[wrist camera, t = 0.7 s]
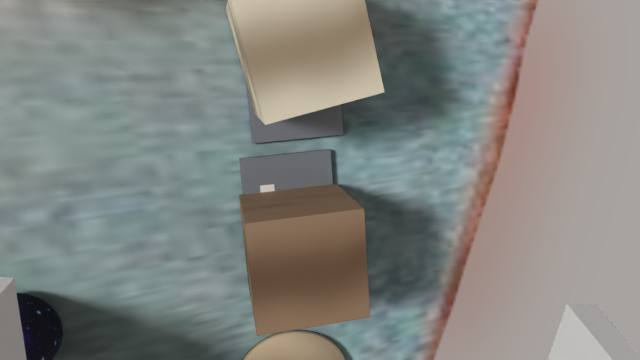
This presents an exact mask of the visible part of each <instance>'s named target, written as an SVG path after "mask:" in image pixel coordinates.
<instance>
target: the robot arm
mask: <svg viewBox="0 0 640 360" xmlns="http://www.w3.org/2000/svg"><path fill="white" fill-rule="evenodd" d="M0 360H27V359H26V352H25V346H24V339H23V332H22V326H21V319H20V313H19V306H18V300H17V293H16V287H15V280H14V278H8V277H0ZM548 360H640V354H639V353H638V352H637V350H636V349H635V348H634V347H633V346H632V345H631V344H630V343H629V342H628V340H627V339H626V338H625V337H624V336H623V335H622V334H621V333H620V331H619V330H618V329H617V328H616V327H615V326H614V325H613V324H612V322H611V321H610V320H609V319H608V318H607V317H606V316H605V315H604V314H603V312H602V311H601V310H600V309H599V308H598V307H597V306H596V305H584V304H567V305H566V308H565V311H564V314H563V317H562V320H561V323H560V326H559V329H558V332H557V335H556V337H555V340H554V344H553V346H552V350H551V353H550V355H549V358H548Z"/></svg>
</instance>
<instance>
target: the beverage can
mask: <svg viewBox="0 0 640 360" xmlns="http://www.w3.org/2000/svg"><path fill="white" fill-rule="evenodd" d="M17 300H18V306H19V313H20V319H21V326H22V332H23V339H24V346H25V352H26V359H27V360H53V358H54V356H55V354H56V353H57V351H58V349H59V347H60V345H61V341H62V336H63V330H62V324H61V321H60V319H59V317H58V315H57V313H56V312H55V311H54V309H53V308H52V307H51V306H50V305H48V304H47V303H46V302H44V301H43V300H41V299H39V298H37V297H34V296H31V295H27V294H21V293H17Z"/></svg>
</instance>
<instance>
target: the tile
mask: <svg viewBox="0 0 640 360" xmlns="http://www.w3.org/2000/svg"><path fill="white" fill-rule="evenodd" d="M239 160H240V170H241V179H242V188H243V195H245V194H253V193H262V192H271V191H279V190H288V189H297V188H305V187H314V186H323V185H331V184H333V179H332V164H331V150H330V149H325V150H316V151H306V152H296V153H287V154H277V155H267V156H258V157H248V158H239Z"/></svg>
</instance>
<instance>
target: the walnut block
mask: <svg viewBox="0 0 640 360" xmlns="http://www.w3.org/2000/svg"><path fill="white" fill-rule="evenodd" d="M239 199H240V209H241V218H242V227H243V236H244V246H245V255H246V264H247V273H248V283H249V291H250V297H251V303H252V308H253V314H254V320H255V326H256V332H257V336H260V335H266V334H272V333H278V332H284V331H290V330H296V329H302V328H308V327H314V326H321V325H327V324H333V323H339V322H345V321H351V320H357V319H363V318H369V317H370V306H369V287H368V269H367V250H366V231H365V213H364V208H363V207H362V206H361V205H360V204H359V203H358V202H356V201H355V200H354V199H353V198H352V197H351V196H350V195H349V194H348V193H347V192H345V191H344V190H343V189H342V188H341V187H340V186H339V185H338V184H331V185H323V186H314V187H305V188H297V189H288V190H279V191H271V192H262V193H253V194H245V195H239Z"/></svg>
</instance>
